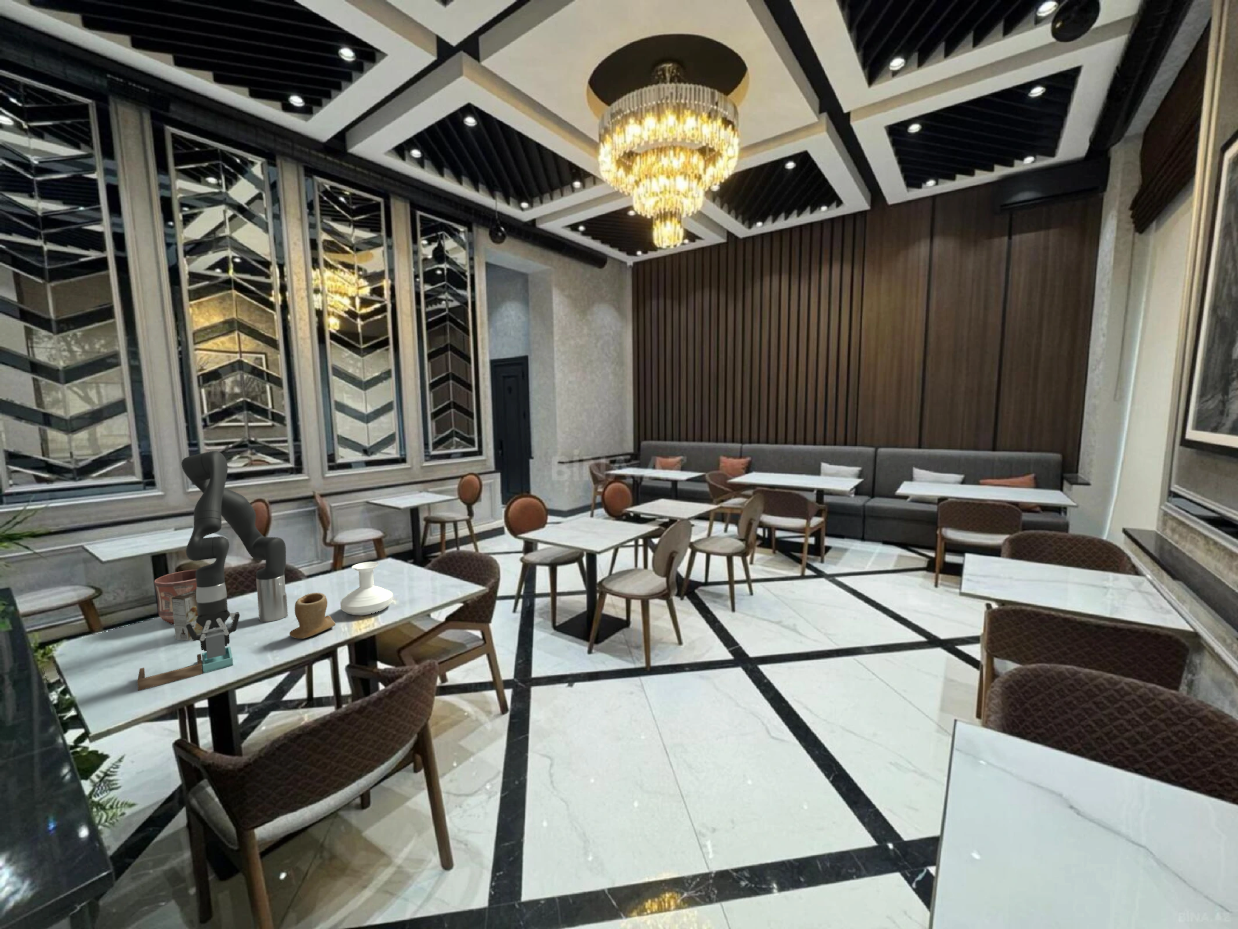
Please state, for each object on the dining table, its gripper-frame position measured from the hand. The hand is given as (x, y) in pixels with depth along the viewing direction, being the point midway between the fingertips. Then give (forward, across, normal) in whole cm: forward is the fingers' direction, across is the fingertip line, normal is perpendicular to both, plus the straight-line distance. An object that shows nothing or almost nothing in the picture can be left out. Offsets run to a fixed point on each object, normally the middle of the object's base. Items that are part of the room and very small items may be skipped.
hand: (215, 647), depth 158 cm
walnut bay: (+5, +11, 0) cm, 12 cm away
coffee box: (+5, +5, -33) cm, 34 cm away
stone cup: (+5, -29, -5) cm, 30 cm away
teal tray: (+5, 0, 0) cm, 5 cm away
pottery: (+5, +7, -55) cm, 56 cm away
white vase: (+5, -50, -16) cm, 53 cm away
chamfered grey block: (+2, 0, 0) cm, 2 cm away
